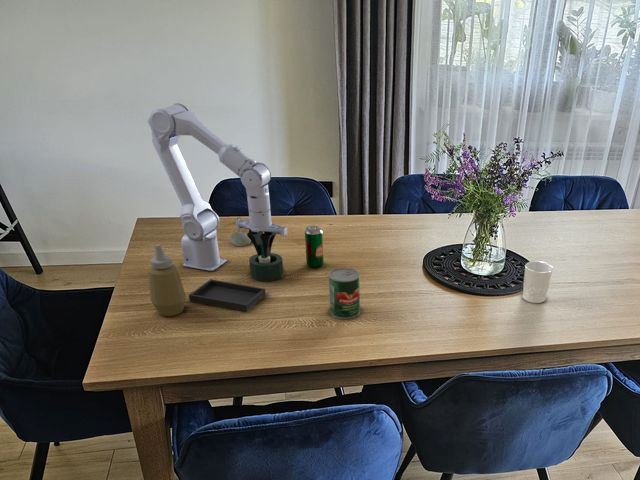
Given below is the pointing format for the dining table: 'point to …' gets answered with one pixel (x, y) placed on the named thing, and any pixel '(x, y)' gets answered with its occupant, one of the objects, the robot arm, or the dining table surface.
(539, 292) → the white cup
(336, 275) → the canned tomato
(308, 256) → the soda can
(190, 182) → the robot arm
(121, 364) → the dining table surface
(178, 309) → the squeeze bottle
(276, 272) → the jar
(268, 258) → the teal peg on base
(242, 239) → the soupspoon
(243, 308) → the tray
